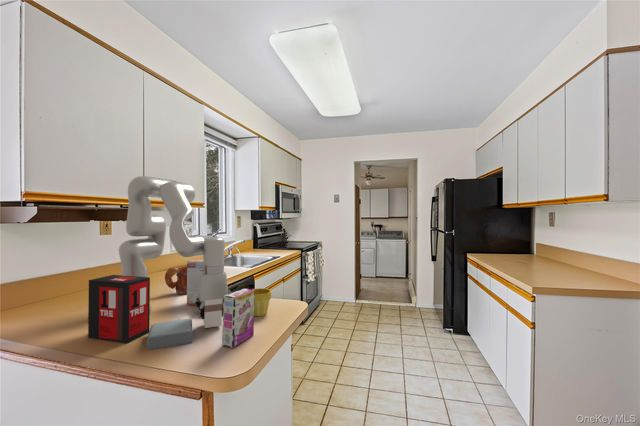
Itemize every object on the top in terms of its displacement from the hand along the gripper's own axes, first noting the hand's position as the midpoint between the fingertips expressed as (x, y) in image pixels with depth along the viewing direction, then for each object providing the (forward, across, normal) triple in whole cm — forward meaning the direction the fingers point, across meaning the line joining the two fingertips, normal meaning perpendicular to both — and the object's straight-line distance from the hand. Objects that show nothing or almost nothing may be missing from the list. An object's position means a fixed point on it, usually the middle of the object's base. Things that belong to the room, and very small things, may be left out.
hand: (212, 316), depth 108 cm
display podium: (+4, -14, -5) cm, 15 cm away
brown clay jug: (+4, -1, +18) cm, 18 cm away
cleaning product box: (+4, -30, +5) cm, 31 cm away
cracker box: (+4, -2, +31) cm, 31 cm away
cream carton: (+3, 0, 0) cm, 3 cm away
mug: (+5, -13, +53) cm, 54 cm away
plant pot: (+4, +19, +7) cm, 21 cm away
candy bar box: (+4, +7, -16) cm, 18 cm away
